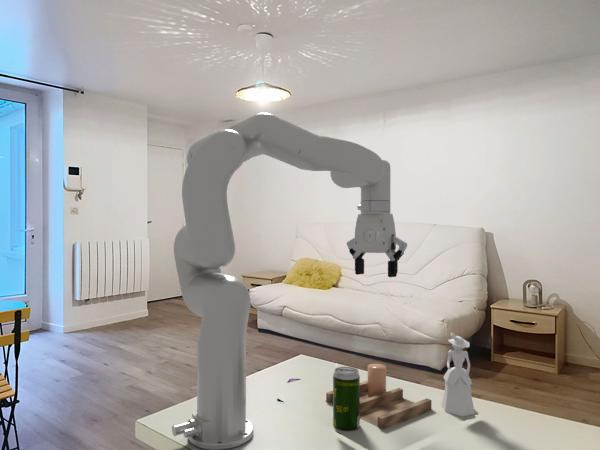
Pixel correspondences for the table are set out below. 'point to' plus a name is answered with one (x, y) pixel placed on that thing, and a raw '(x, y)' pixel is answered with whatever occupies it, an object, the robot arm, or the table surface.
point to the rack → (387, 407)
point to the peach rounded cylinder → (376, 379)
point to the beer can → (346, 399)
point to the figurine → (458, 381)
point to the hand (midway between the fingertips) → (375, 275)
